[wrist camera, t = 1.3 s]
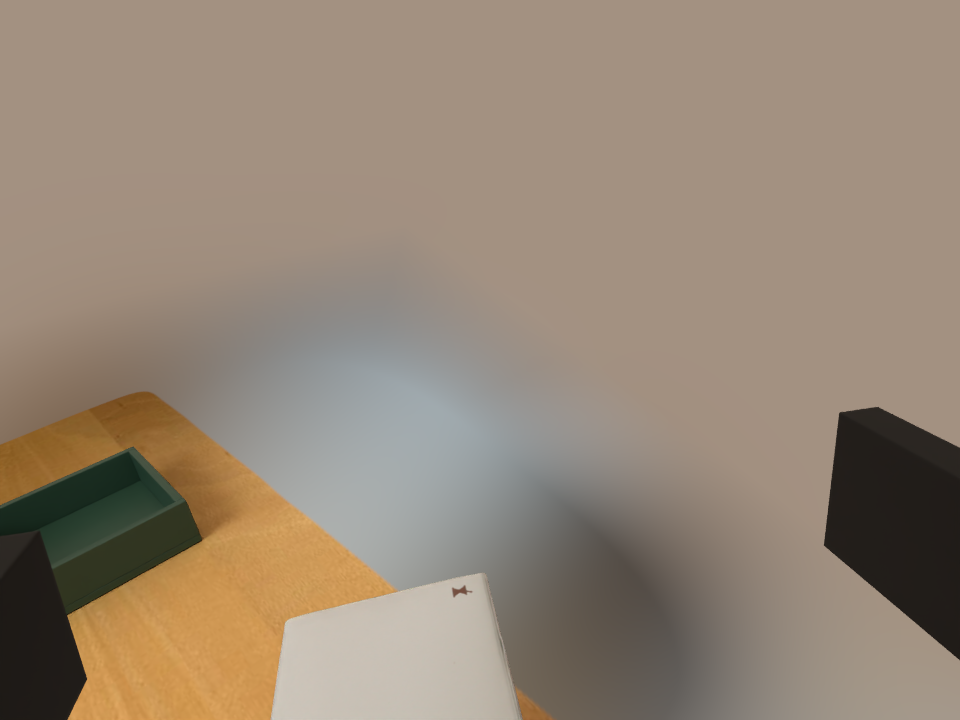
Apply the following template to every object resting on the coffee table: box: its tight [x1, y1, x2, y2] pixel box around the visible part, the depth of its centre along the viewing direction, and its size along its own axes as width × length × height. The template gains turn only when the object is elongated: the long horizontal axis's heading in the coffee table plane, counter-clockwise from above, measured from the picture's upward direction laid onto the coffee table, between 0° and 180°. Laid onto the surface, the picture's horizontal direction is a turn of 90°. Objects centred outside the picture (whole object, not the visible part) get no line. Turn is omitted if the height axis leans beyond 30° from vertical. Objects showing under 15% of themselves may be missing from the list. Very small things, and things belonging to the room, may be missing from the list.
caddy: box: [0, 447, 202, 614], centre depth 50 cm, size 13×13×4 cm
